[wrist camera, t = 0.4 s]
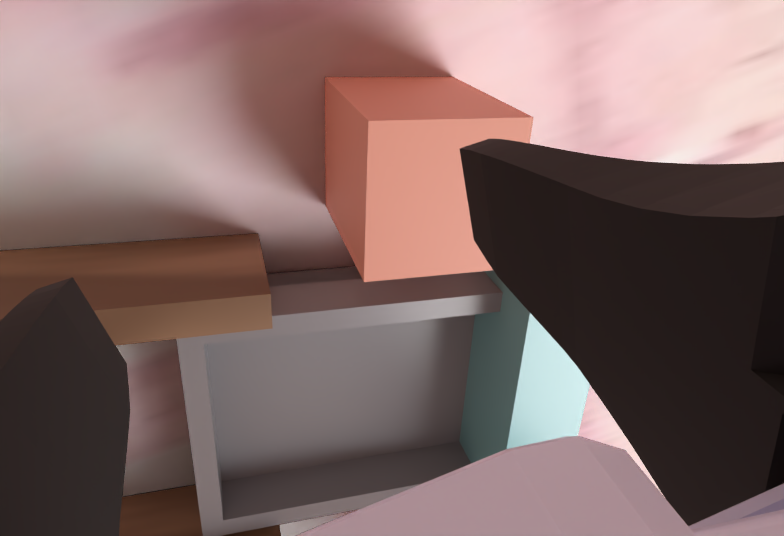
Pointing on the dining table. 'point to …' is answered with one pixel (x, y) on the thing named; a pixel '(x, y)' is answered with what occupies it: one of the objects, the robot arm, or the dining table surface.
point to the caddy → (155, 320)
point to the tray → (366, 393)
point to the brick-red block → (408, 170)
